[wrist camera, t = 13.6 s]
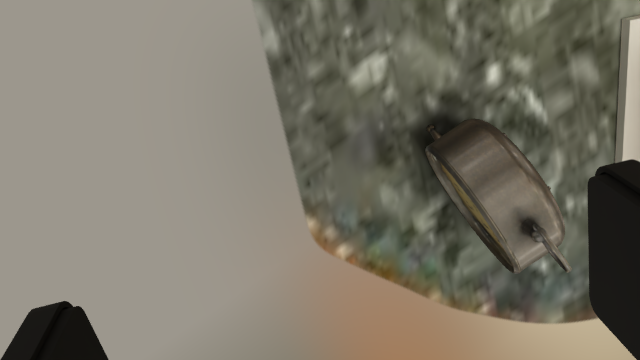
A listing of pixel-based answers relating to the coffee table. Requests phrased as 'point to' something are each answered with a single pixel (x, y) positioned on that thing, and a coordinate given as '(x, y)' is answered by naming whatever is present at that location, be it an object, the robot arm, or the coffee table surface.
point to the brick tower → (629, 92)
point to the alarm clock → (498, 193)
